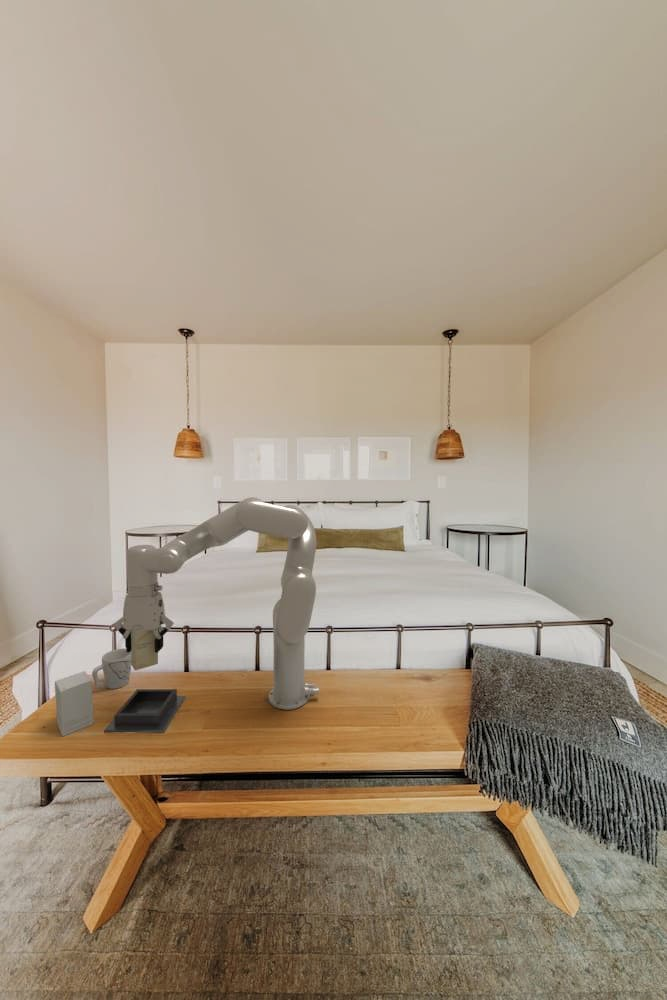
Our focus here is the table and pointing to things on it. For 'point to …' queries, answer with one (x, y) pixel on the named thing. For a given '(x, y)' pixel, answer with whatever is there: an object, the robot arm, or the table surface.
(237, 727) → the table surface
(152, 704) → the sleeve holder
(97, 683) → the mug
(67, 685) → the supplement box
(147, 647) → the skincare box
